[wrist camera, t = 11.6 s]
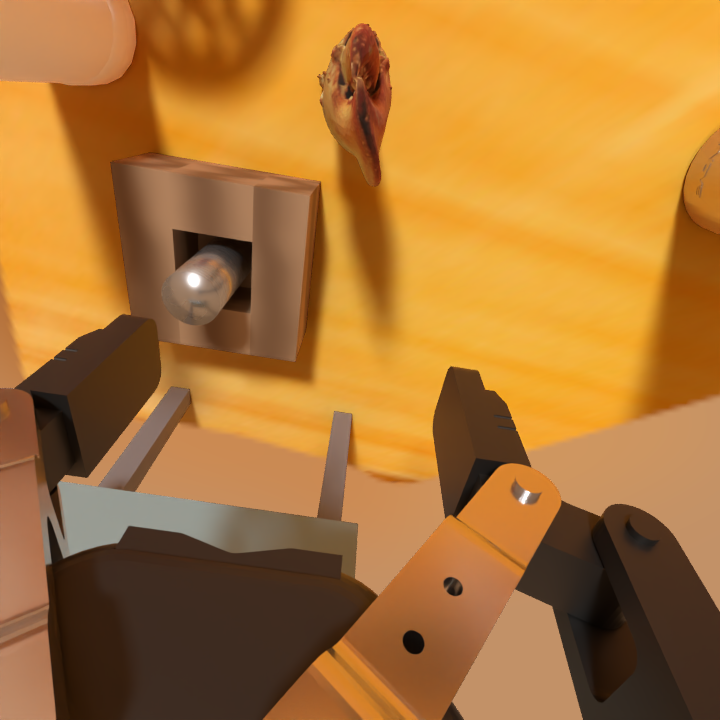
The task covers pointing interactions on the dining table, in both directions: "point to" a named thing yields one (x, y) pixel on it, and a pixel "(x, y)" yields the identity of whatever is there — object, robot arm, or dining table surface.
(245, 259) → the peg
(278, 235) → the socket block
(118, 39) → the bottle
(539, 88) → the dining table surface
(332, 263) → the dining table surface
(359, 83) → the crab claw
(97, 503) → the small grey stool
